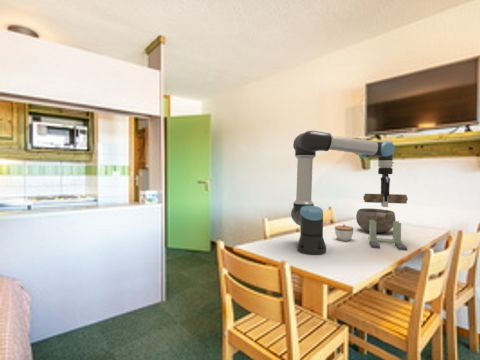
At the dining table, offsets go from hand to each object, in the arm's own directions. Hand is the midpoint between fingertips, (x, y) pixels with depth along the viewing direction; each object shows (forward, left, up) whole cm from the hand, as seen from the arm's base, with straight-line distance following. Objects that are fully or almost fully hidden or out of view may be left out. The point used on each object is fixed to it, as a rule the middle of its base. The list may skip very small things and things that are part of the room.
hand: (384, 206), depth 160 cm
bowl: (-1, +26, -21) cm, 34 cm away
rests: (-1, -13, -21) cm, 25 cm away
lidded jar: (-23, -3, -21) cm, 31 cm away
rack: (0, 0, -21) cm, 21 cm away
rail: (0, 0, +2) cm, 2 cm away
